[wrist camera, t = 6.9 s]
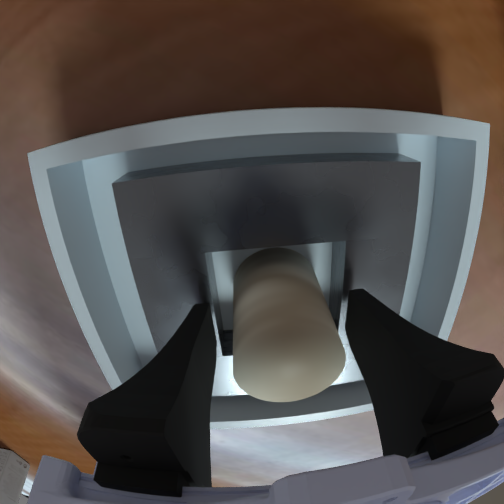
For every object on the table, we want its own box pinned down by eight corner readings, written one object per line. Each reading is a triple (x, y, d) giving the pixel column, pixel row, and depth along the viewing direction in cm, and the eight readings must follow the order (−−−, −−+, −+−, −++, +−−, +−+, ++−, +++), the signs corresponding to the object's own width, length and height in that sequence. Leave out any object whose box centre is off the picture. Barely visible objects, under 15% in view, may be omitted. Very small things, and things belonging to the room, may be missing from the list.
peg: (239, 320, 16) (241, 407, 11) (227, 253, 14) (223, 336, 10) (315, 310, 16) (341, 392, 11) (314, 242, 14) (350, 318, 10)
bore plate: (178, 371, 18) (174, 396, 16) (128, 171, 13) (111, 183, 11) (372, 353, 18) (383, 375, 16) (398, 153, 13) (420, 161, 11)
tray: (144, 384, 19) (134, 426, 16) (70, 139, 12) (27, 153, 9) (403, 359, 19) (422, 397, 16) (443, 114, 12) (489, 123, 9)
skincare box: (10, 449, 28) (-12, 511, 17) (32, 465, 30) (13, 526, 19) (-6, 446, 28) (-27, 503, 18) (14, 462, 30) (-4, 517, 19)
